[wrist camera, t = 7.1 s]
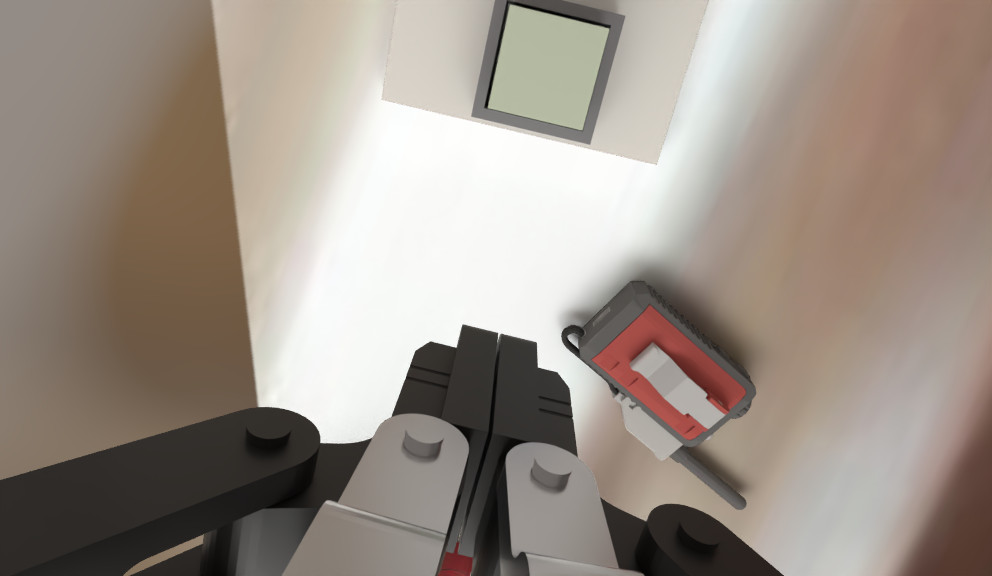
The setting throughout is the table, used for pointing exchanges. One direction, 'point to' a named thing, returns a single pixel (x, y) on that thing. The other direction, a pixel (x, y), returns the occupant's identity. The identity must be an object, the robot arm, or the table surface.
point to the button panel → (618, 87)
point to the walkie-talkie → (664, 377)
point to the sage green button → (547, 67)
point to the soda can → (456, 564)
